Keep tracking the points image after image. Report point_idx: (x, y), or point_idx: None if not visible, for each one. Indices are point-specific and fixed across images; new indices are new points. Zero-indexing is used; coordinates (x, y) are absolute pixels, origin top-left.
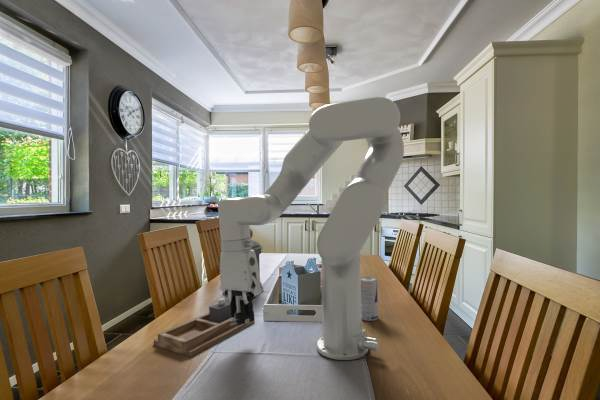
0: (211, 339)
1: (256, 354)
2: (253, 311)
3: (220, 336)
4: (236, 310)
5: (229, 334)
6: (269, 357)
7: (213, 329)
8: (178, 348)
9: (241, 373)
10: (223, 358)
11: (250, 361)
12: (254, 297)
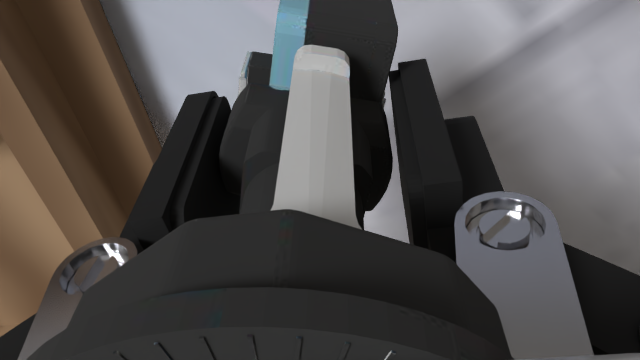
0: (140, 182)
1: (521, 71)
2: (395, 35)
3: (134, 120)
4: (238, 205)
5: (96, 11)
6: (632, 45)
7: (71, 174)
8: None
9: (571, 237)
10: (374, 212)
11: (541, 148)
12: (634, 295)
